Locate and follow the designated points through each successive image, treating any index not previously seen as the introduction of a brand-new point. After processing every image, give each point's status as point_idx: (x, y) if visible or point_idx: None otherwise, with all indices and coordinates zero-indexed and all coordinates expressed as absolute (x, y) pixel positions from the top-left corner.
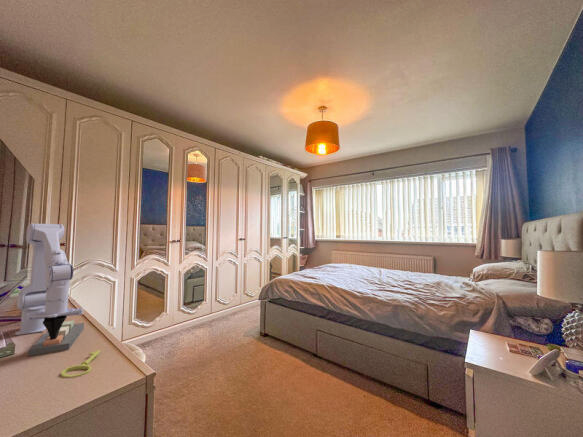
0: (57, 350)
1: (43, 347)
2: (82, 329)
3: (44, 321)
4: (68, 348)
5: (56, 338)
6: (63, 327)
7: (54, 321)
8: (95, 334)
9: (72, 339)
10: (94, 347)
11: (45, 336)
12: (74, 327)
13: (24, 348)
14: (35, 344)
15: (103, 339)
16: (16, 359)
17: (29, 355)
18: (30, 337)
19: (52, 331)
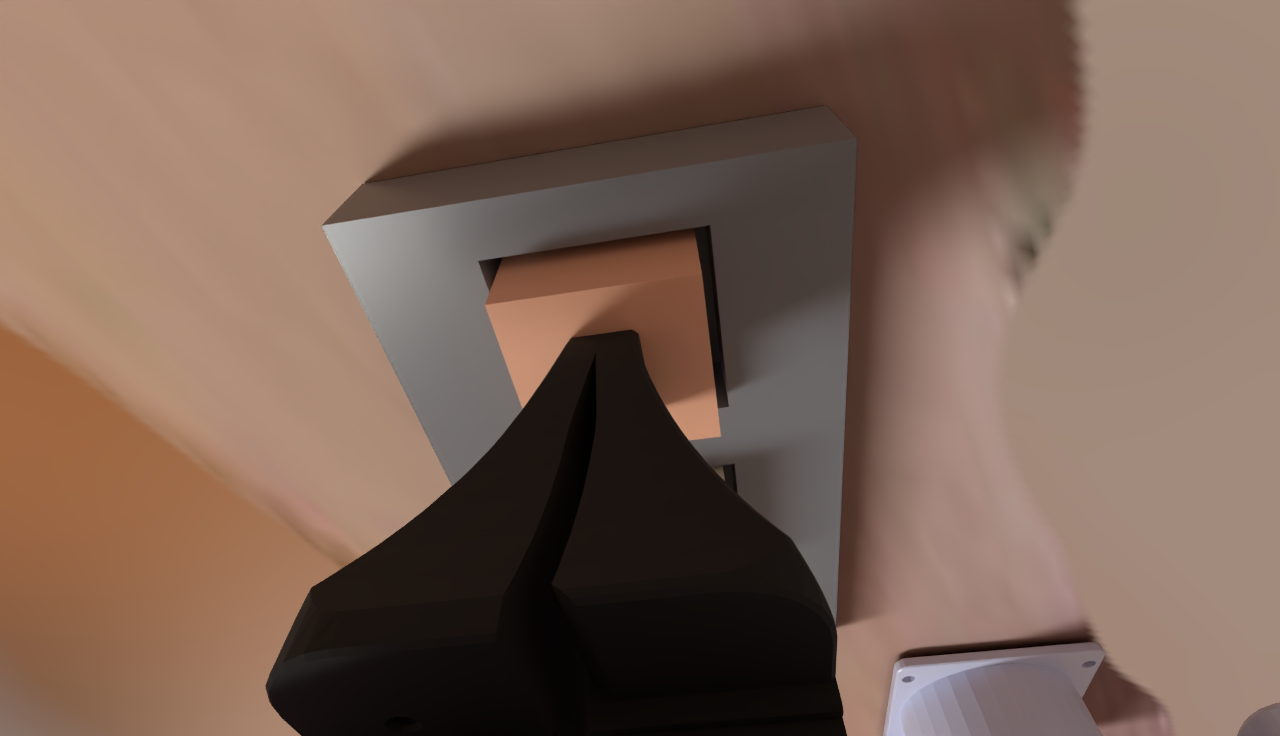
0: (485, 165)
1: (659, 172)
2: None
3: (790, 633)
4: (361, 192)
5: None
6: None
7: (473, 597)
8: (347, 526)
9: (400, 372)
10: (5, 160)
11: (802, 519)
12: None
13: (947, 374)
14: (827, 317)
15: (121, 389)
16: (948, 45)
17: (813, 114)
18: (963, 587)
19: (598, 420)
